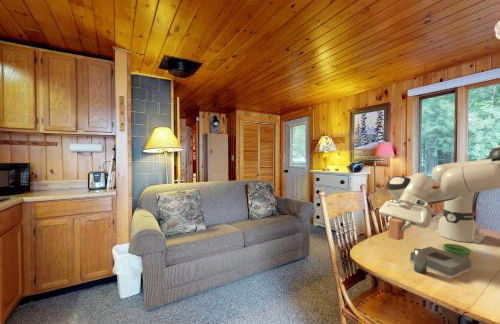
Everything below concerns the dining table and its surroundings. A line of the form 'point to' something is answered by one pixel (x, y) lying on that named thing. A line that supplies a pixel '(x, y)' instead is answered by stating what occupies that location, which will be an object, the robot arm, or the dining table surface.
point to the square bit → (395, 229)
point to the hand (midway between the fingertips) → (395, 228)
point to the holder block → (445, 262)
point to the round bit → (420, 261)
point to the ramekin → (457, 250)
